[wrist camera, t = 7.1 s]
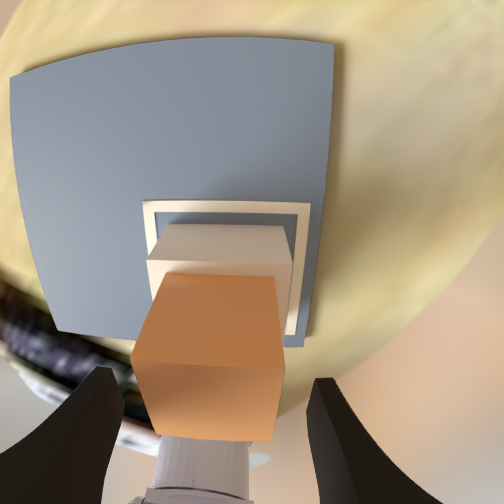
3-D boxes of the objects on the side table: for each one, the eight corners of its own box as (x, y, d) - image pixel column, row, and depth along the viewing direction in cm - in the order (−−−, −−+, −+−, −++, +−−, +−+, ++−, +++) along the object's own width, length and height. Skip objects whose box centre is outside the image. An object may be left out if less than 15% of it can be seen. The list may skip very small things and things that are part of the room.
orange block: (266, 354, 15) (271, 441, 10) (176, 350, 15) (156, 434, 10) (274, 276, 13) (285, 367, 8) (165, 272, 13) (130, 358, 8)
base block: (275, 318, 19) (280, 366, 15) (178, 315, 19) (164, 361, 15) (283, 225, 16) (292, 263, 13) (168, 223, 16) (146, 259, 12)
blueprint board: (301, 341, 21) (303, 348, 20) (61, 325, 20) (57, 331, 20) (331, 46, 12) (334, 43, 12) (15, 77, 12) (9, 77, 12)
